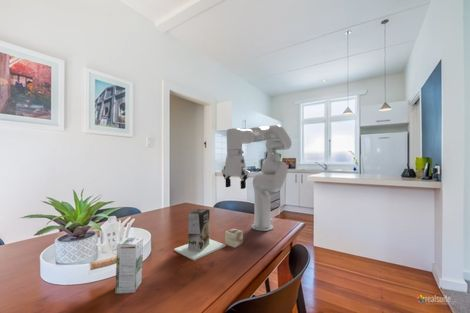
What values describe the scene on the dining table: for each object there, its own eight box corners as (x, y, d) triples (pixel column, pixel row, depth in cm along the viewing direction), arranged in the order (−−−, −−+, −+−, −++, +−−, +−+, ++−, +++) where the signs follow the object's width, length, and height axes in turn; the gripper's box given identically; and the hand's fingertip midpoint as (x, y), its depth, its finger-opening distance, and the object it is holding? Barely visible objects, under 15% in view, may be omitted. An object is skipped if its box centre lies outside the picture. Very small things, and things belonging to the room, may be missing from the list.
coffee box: (201, 252, 87) (201, 213, 87) (187, 250, 88) (187, 212, 89) (210, 244, 95) (210, 209, 96) (197, 242, 97) (197, 208, 98)
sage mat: (205, 238, 104) (205, 237, 104) (225, 246, 95) (225, 244, 95) (174, 250, 90) (174, 248, 90) (193, 260, 81) (193, 258, 81)
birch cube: (233, 240, 102) (233, 228, 102) (243, 243, 98) (243, 230, 98) (225, 244, 97) (225, 231, 98) (234, 247, 93) (234, 234, 94)
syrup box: (123, 282, 66) (124, 237, 66) (142, 282, 67) (143, 236, 67) (115, 294, 60) (115, 244, 61) (135, 293, 61) (136, 243, 61)
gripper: (253, 153, 100) (254, 188, 100) (226, 153, 111) (227, 185, 111) (243, 153, 94) (244, 190, 94) (216, 154, 105) (217, 187, 105)
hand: (235, 187), depth 102 cm, fingers open, 9 cm apart
